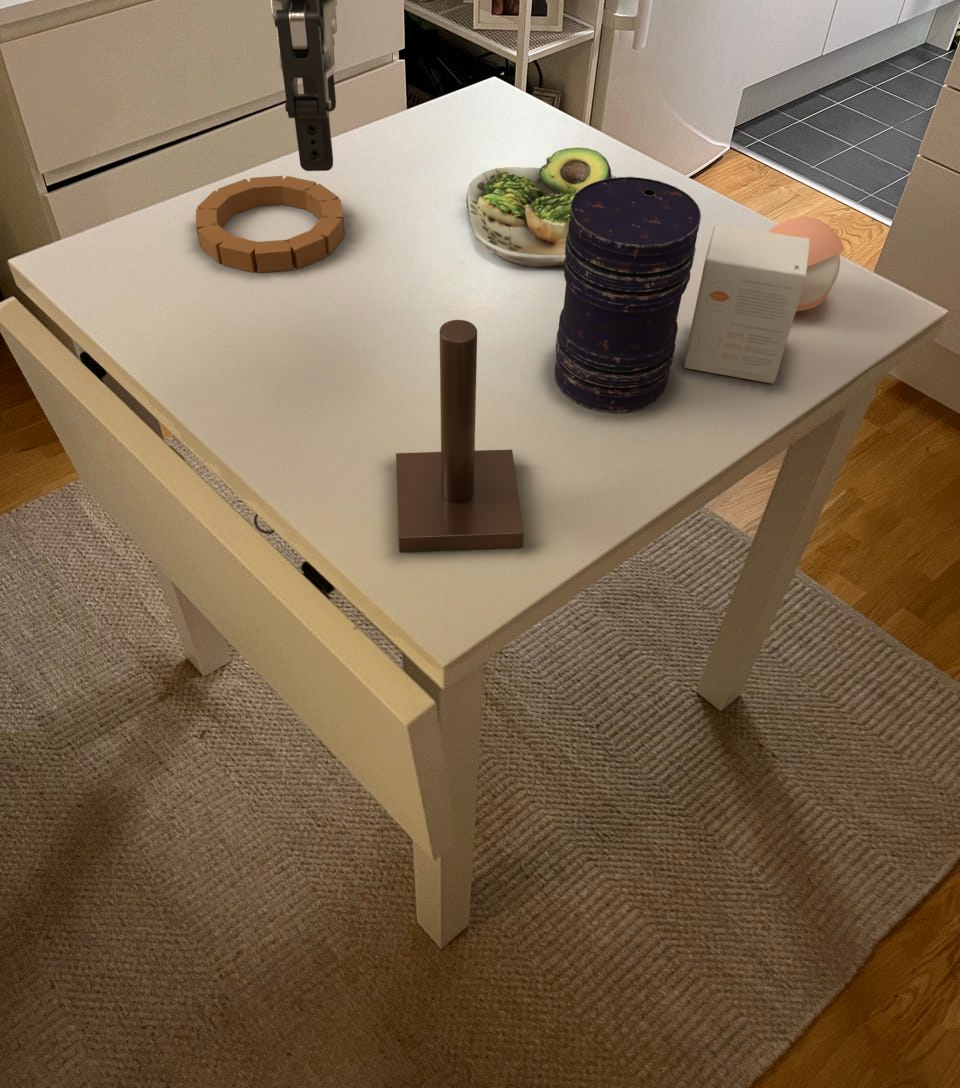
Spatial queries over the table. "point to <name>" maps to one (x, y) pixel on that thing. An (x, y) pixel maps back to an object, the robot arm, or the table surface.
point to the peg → (458, 468)
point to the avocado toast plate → (532, 205)
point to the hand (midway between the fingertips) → (319, 138)
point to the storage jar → (623, 291)
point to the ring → (270, 252)
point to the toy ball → (815, 257)
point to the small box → (746, 302)
